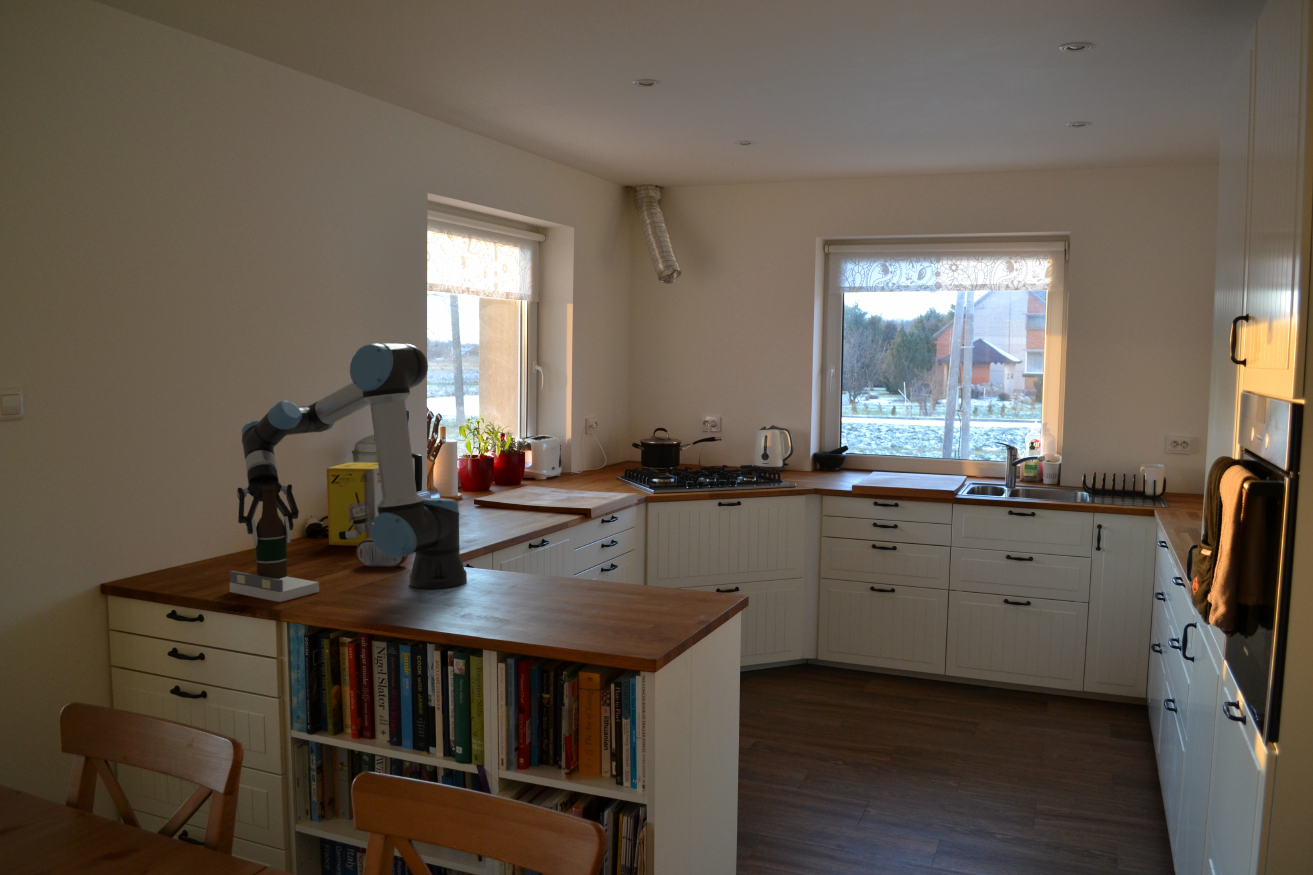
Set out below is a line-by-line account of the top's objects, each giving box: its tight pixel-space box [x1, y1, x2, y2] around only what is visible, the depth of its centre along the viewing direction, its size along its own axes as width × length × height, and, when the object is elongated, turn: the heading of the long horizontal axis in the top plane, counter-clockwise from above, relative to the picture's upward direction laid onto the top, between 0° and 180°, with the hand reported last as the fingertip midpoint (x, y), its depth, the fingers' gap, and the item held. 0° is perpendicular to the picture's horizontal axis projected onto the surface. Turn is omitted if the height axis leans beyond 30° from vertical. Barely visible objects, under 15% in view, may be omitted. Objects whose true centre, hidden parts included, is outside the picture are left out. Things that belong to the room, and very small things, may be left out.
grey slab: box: [228, 570, 320, 603], centre depth 251 cm, size 20×12×6 cm, turn 59°
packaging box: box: [326, 461, 382, 547], centre depth 317 cm, size 16×16×25 cm
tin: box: [355, 538, 409, 568], centre depth 280 cm, size 15×3×8 cm, turn 84°
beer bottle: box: [255, 485, 288, 579], centre depth 250 cm, size 8×8×24 cm
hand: (272, 541), depth 247 cm, fingers closed on beer bottle, 7 cm apart
